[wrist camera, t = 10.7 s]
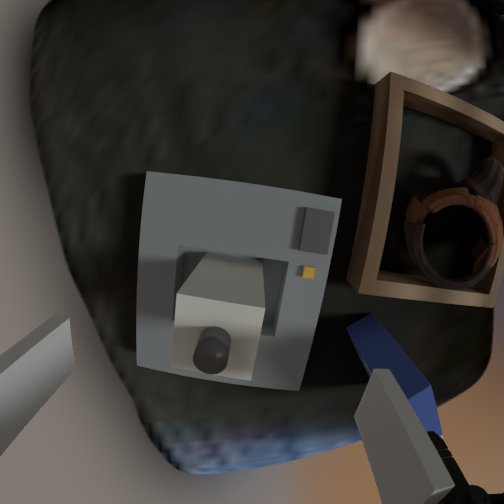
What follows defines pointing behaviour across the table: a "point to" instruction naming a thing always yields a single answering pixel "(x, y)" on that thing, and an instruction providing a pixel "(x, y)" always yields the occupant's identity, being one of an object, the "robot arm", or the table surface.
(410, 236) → the pottery mug
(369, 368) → the walkman
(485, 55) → the table surface
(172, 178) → the socket plate
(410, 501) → the robot arm
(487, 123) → the mug frame
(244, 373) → the plug
